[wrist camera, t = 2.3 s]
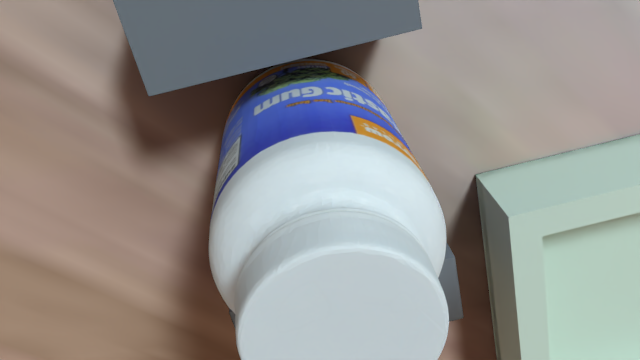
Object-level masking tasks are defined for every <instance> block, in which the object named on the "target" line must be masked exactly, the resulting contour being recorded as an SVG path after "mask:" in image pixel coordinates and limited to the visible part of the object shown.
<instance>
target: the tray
mask: <svg viewBox="0 0 640 360" xmlns="http://www.w3.org/2000/svg"><path fill="white" fill-rule="evenodd" d="M476 183H477V192H478V201H479V209H480V218H481V227H482V235H483V244H484V253H485V262H486V270H487V279H488V288H489V296H490V305H491V314H492V322H493V331H494V340H495V348H496V357H497V360H640V134H639V135H635V136H630V137H626V138H622V139H618V140H614V141H610V142H606V143H602V144H598V145H594V146H590V147H586V148H582V149H578V150H574V151H570V152H565V153H561V154H557V155H553V156H549V157H545V158H541V159H537V160H533V161H529V162H525V163H521V164H517V165H513V166H509V167H505V168H500V169H496V170H492V171H488V172H484V173H480V174H476Z"/></svg>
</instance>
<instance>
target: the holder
mask: <svg viewBox="0 0 640 360" xmlns="http://www.w3.org/2000/svg"><path fill="white" fill-rule="evenodd" d="M113 2H114V4H115V7H116V10H117V13H118V15H119V18H120V21H121V23H122V26H123V29H124V31H125V34H126V37H127V39H128V42H129V45H130V47H131V50H132V53H133V56H134V58H135V61H136V64H137V66H138V69H139V72H140V74H141V77H142V80H143V82H144V85H145V88H146V90H147V93H148V96H153V95H157V94H161V93H165V92H169V91H173V90H177V89H181V88H185V87H189V86H193V85H197V84H201V83H205V82H209V81H213V80H217V79H221V78H225V77H229V76H233V75H237V74H241V73H245V72H249V71H253V70H257V69H261V68H265V67H269V66H273V65H278V64H282V63H286V62H290V61H294V60H298V59H302V58H306V57H310V56H314V55H318V54H322V53H326V52H330V51H334V50H338V49H342V48H346V47H350V46H354V45H358V44H362V43H366V42H370V41H374V40H378V39H382V38H386V37H390V36H394V35H398V34H402V33H406V32H410V31H414V30H418V29H422V24H421V17H420V10H419V3H418V0H113ZM438 279H439V282H440V284H441V287H442V289H443V291H444V294H445V297H446V301H447V306H448V313H449V321H453V320H457V319H462V318H464V317H463V310H462V303H461V296H460V289H459V282H458V275H457V268H456V261H455V256H454V255H453V253H452V251H451V249H450V247H449V245H448V244H447V242H446V252H445V259H444V263H443V266H442V269H441V272H440V275H439V277H438ZM229 313H230V316H231V319H232V322H233V324H234V327H235V330H236V326H235V313H234V312H233V311H232V310H231V309H230V308H229Z"/></svg>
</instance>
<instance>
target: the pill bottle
mask: <svg viewBox="0 0 640 360" xmlns="http://www.w3.org/2000/svg"><path fill="white" fill-rule="evenodd" d="M445 252H446V225H445V220H444V216H443V212H442V209H441V207H440V204H439V201H438V199H437V197H436V195H435V193H434V191H433V189H432V187H431V185H430V183H429V181H428V179H427V178H426V176H425V174H424V172H423V170H422V169H421V168H420V166H419V164H418V162H417V161H416V159H415V157H414V156H413V154H412V153H411V151H410V149H409V147H408V145H407V143H406V142H405V140H404V138H403V137H402V135H401V133H400V131H399V130H398V128H397V126H396V124H395V122H394V120H393V119H392V117H391V115H390V113H389V111H388V110H387V108H386V106H385V104H384V102H383V101H382V99H381V98H380V96H379V95H378V94H377V92H376V91H375V90H374V88H373V87H372V86H371V85H370V84H369V83H368V82H367V81H366V80H365V79H364V78H362V77H361V76H360V75H358V74H357V73H356V72H354V71H352V70H351V69H349V68H347V67H345V66H342V65H340V64H337V63H334V62H330V61H325V60H319V59H299V60H294V61H290V62H286V63H282V64H279V65H277V66H274V67H272V68H270V69H268V70H266V71H264V72H263V73H261V74H260V75H258V76H257V77H256V78H254V79H253V80H252V81H251V82H250V83H249V84H248V85H247V86H246V87H245V88H244V89H243V90H242V92H241V93H240V94H239V96H238V97H237V99H236V100H235V102H234V104H233V106H232V108H231V110H230V113H229V115H228V118H227V120H226V123H225V127H224V133H223V138H222V145H221V152H220V159H219V165H218V172H217V179H216V186H215V193H214V200H213V207H212V214H211V221H210V232H209V261H210V267H211V272H212V275H213V279H214V281H215V284H216V286H217V288H218V290H219V292H220V294H221V296H222V298H223V299H224V301H225V302H226V304H227V306H228V307H229V308H230V309H231V310H232V311H233V312H234V313H235V326H236V345H237V349H238V353H239V356H240V359H241V360H437V359H438V357H439V356H440V354H441V352H442V349H443V347H444V345H445V342H446V338H447V334H448V326H449V313H448V306H447V301H446V297H445V294H444V291H443V289H442V287H441V284H440V282H439V279H438V277H439V275H440V272H441V269H442V266H443V263H444V259H445Z"/></svg>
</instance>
